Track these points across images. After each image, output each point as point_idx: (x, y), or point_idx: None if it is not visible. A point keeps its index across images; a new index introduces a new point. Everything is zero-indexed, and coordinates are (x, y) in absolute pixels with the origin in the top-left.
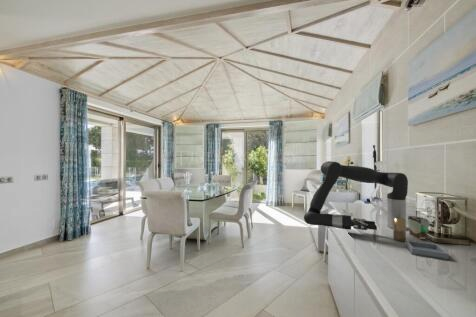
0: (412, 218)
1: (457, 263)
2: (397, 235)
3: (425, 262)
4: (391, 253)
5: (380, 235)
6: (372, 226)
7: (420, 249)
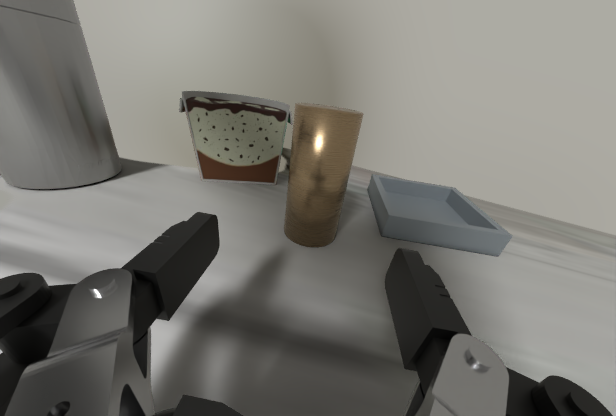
0: (210, 102)
1: None
2: (338, 214)
3: (547, 251)
4: (612, 336)
5: (229, 280)
6: (448, 294)
7: (491, 219)
